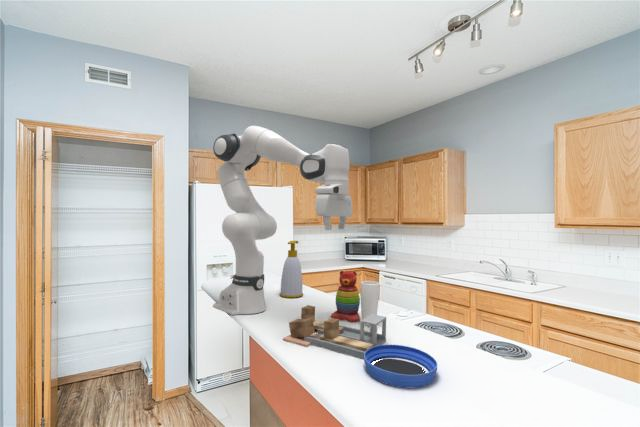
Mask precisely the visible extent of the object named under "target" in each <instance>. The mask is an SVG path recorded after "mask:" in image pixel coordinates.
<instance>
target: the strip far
mask: <svg viewBox="0 0 640 427" xmlns="http://www.w3.org/2000/svg"><path fill="white" fill-rule="evenodd" d="M300 316H301V317H300V319H302V318H312V319H313V325H314V330H316V331H318V329H321V330H324V322H320V321H318V320H317V321H316V306H314V305H309V304H308V305H304V306H302V307H301V313H300ZM342 332H344V328H343V327H339V334H340V333H342Z"/></svg>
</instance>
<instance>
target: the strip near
mask: <svg viewBox="0 0 640 427" xmlns="http://www.w3.org/2000/svg"><path fill="white" fill-rule="evenodd" d="M323 323H324V334H323V335H321V336H319V340H323V341H327V342H330V343H334V344H338V345H342V346H346V347H349V348H353V349H357V350H361V351H365V352H366V351H367V350H368V349H369V348H371V347H374V344H370V343H366V342H362V341H358V340H354V339H350V338H346V337H342V336H339V325H340V320H339V319H335V318H331V317H329V318H328V319H325V320H324V321H323Z"/></svg>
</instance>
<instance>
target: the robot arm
mask: <svg viewBox="0 0 640 427" xmlns="http://www.w3.org/2000/svg"><path fill="white" fill-rule="evenodd" d="M212 148H213V149H212V150H213V154H214V156H215V157H216V158H218V159H219V160H220V161H222V162H224V163H222V164H221V165H220V166H219V167H218V169H217V175H218V176H217V177H218V182H219V185H220V188H221V191H222V193H223V194H222V195H223V196H224V199H225V202H226V204H227V206H228V208H229V209H231V210H232V211H234V212H235V213H232V214H229V215H227V216H225V218H224V219H223V221H222V225H221V230H222V234H223V236H224V238H226V239H227V240H229V242H230V244H231V246H232V248H233V251H234V255H235V256H234V257H235V274H234V275H232V276H231V277H230V279H232V280H231V283H230V284H229V285H228V286H227V287H225V288H224V289H223V290H222V291H221V292H220V294H219V298H218V301H217V302H215V303H213V305H212V308H214V309H216V310H219V311H221V312H223V313H226V314H228V315H232V316H233V315H235V316H236V315H251V314H252V315H253V314H259V313H264V312H265V311H266V310H267V305H266V300H265V291H264V289H265V288H264V284H265V274H264V264H265V263H264V262H265V259H264V258H265V257H264V254H263V252H262V251H260V250H259V249H258V247H257V244H256V243H257V242H256V241H257V240H258V241H259V240H260V241H261V240H265V239H269V238H272V237H273V236H274V235H275V234H276V232H277V229H278V226H277V225H278V223H277V221H276V219H275V217H273V216H272V215H270V214H269V213H268V212H266V210H265V209H264V208H263V207H262V206H261V205H260V203H259V202H258V200H256V198H255V196H254V194H253V192H252V190H251V187H250V185H249V183H248V180H247V178H246V177H247V176H246V175H245V171H246V172H248V171H250V170H251V169H252V168H254V167H255V166H256V165H257V164H258V163H259V162H260V160H261V158H263V159H266V160H269V161H272V162H277V163H284V164H285V163H286V164H290V165H294V166H297V167H299V173H300V174H301V177H303V178H304V179H305V180H307V181H311V182H315V183H319V184H321V185H318V186H317V187H315V194H316V197H315V212H316V216H317V217H322V220H323V223H324V230H326V231H331V230H332V227H333V226H332V223H331V220H332V219H331V217H339V224H338V226H337V227H338V230H345V229H346V228H345V227H346V223H347V219H348V218H350V217H352V216H353V200H352V197H351V196H350V191H349V190H350V180H349V172H350V153H349V150H348V147H346V146H345V145H342V144H339V143H333V142H332V143H331V142H330V143H327V144H326V145H325V146H324V147H323V148H322V149H320V150H318V151H316V152H314V153H308V152H306V151H304V150H302V149H300V148H298V147H297V146H296V145H294V144H293V143H292V142H290V141H288V139H286V138H285V137H282V135H280V134H278V133H276V132H275V131H273V130H271V129H269V128H266V127H262V126H258V125H250V126H248V127H246V128H245V129H244V131H243V132H242V134H241V135H238V134H237V133H235V132H233V133H230V134H221V135H219V136H218V137H217V138H216V139H215V141H214V142H213V146H212Z"/></svg>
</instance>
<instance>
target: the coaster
mask: <svg viewBox="0 0 640 427" xmlns="http://www.w3.org/2000/svg"><path fill="white" fill-rule="evenodd" d="M316 334H317V333H313V334H311V335H309V336H308V337H311V338H312V336H313V337H316V336H317V335H316ZM314 335H316V336H314ZM319 336H320V335H318V337H319ZM315 339H317V338H315ZM282 340H283V341H285V342H288V343H291V344H295V345H297V346H298V345H299V346H301V347H306V348H307V347H309V346H311V342H307V341H304V337H291V334H289V335H286V336H284V337H283V338H282Z"/></svg>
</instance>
